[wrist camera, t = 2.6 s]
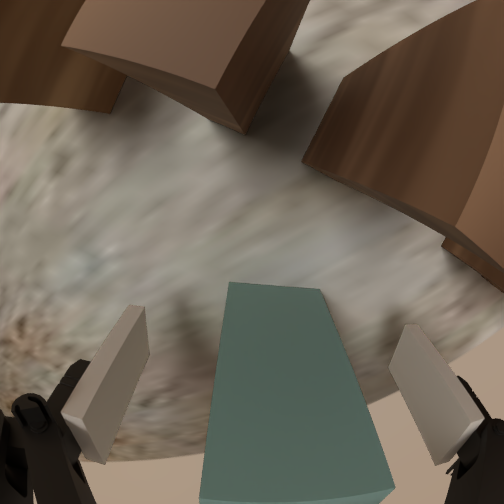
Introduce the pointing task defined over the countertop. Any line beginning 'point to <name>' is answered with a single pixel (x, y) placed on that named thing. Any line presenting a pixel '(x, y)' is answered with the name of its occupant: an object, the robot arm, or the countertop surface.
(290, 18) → the domino
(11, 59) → the block
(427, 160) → the domino
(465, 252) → the domino
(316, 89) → the countertop surface
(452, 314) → the countertop surface
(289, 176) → the countertop surface
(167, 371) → the countertop surface
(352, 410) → the domino
